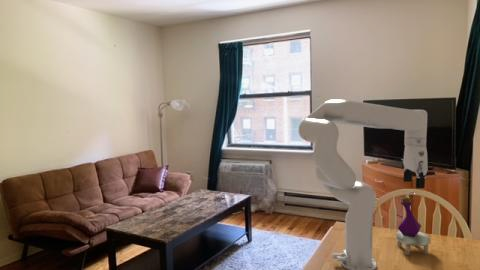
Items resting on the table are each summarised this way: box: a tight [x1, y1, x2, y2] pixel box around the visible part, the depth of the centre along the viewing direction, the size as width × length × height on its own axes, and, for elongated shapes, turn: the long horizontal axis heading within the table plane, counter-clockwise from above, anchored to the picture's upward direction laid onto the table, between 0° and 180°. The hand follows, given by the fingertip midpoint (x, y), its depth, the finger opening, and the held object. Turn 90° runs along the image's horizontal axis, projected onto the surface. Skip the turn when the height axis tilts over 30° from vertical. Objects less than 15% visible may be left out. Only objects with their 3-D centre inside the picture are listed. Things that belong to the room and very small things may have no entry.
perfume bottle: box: [397, 190, 422, 237], centre depth 138 cm, size 8×8×18 cm
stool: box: [395, 230, 431, 257], centre depth 138 cm, size 12×12×6 cm
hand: (413, 184), depth 135 cm, fingers open, 9 cm apart
